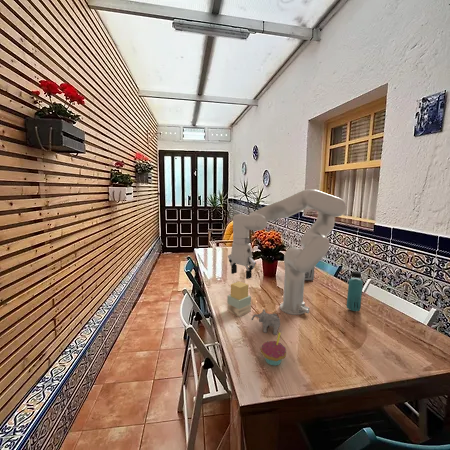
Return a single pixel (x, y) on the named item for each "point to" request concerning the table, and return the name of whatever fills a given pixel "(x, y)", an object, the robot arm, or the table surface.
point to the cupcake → (273, 351)
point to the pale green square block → (239, 301)
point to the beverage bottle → (354, 292)
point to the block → (239, 290)
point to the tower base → (239, 310)
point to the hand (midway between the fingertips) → (241, 275)
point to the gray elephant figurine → (268, 321)
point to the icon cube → (310, 275)
